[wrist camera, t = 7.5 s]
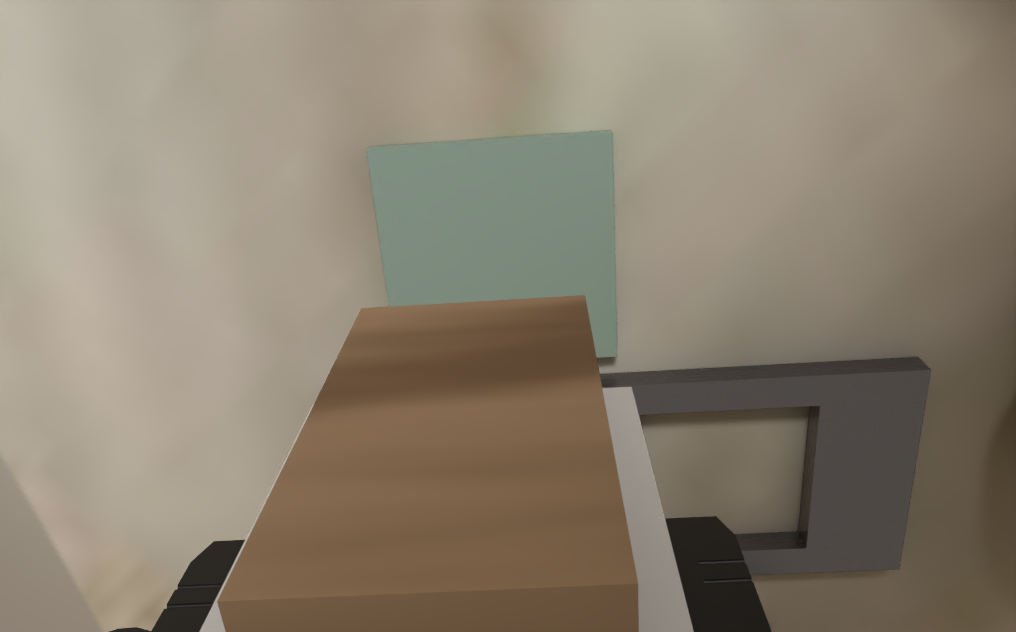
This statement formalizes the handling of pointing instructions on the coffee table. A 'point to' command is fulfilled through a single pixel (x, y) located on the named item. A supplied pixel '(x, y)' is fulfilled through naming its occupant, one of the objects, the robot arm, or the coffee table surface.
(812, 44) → the coffee table surface
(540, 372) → the walnut block
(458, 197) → the felt pad
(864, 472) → the grey slotted board
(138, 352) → the coffee table surface
